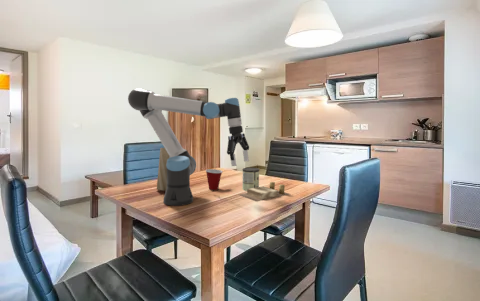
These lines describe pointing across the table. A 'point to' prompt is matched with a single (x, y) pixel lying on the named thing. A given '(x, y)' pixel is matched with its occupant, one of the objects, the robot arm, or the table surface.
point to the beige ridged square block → (262, 192)
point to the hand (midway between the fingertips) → (240, 163)
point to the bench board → (279, 194)
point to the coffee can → (250, 178)
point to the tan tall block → (162, 170)
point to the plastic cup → (213, 178)
